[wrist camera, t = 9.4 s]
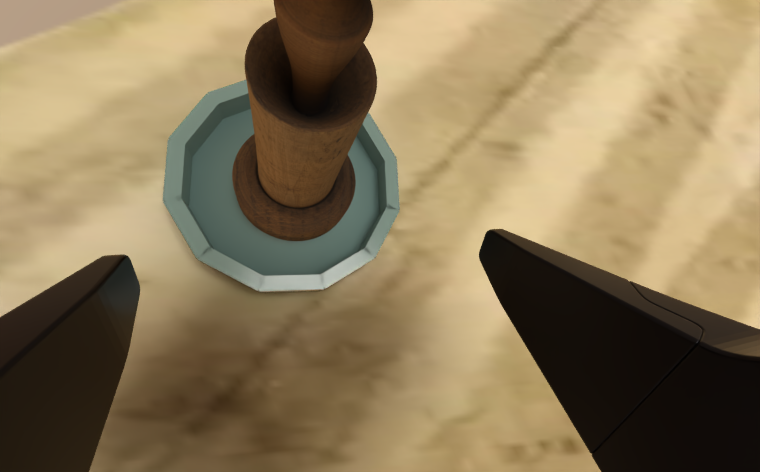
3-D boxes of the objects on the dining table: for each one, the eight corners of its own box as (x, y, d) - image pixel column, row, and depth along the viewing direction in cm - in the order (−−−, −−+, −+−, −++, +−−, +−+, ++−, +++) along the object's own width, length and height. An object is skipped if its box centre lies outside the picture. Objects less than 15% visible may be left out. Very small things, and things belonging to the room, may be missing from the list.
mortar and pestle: (246, 251, 19) (-27, -227, 2) (227, 144, 20) (-80, -852, 3) (358, 231, 21) (701, -73, 4) (336, 136, 22) (545, -449, 5)
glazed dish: (247, 335, 18) (244, 338, 16) (134, 142, 19) (116, 122, 17) (420, 228, 23) (434, 221, 21) (326, 73, 23) (331, 51, 21)
